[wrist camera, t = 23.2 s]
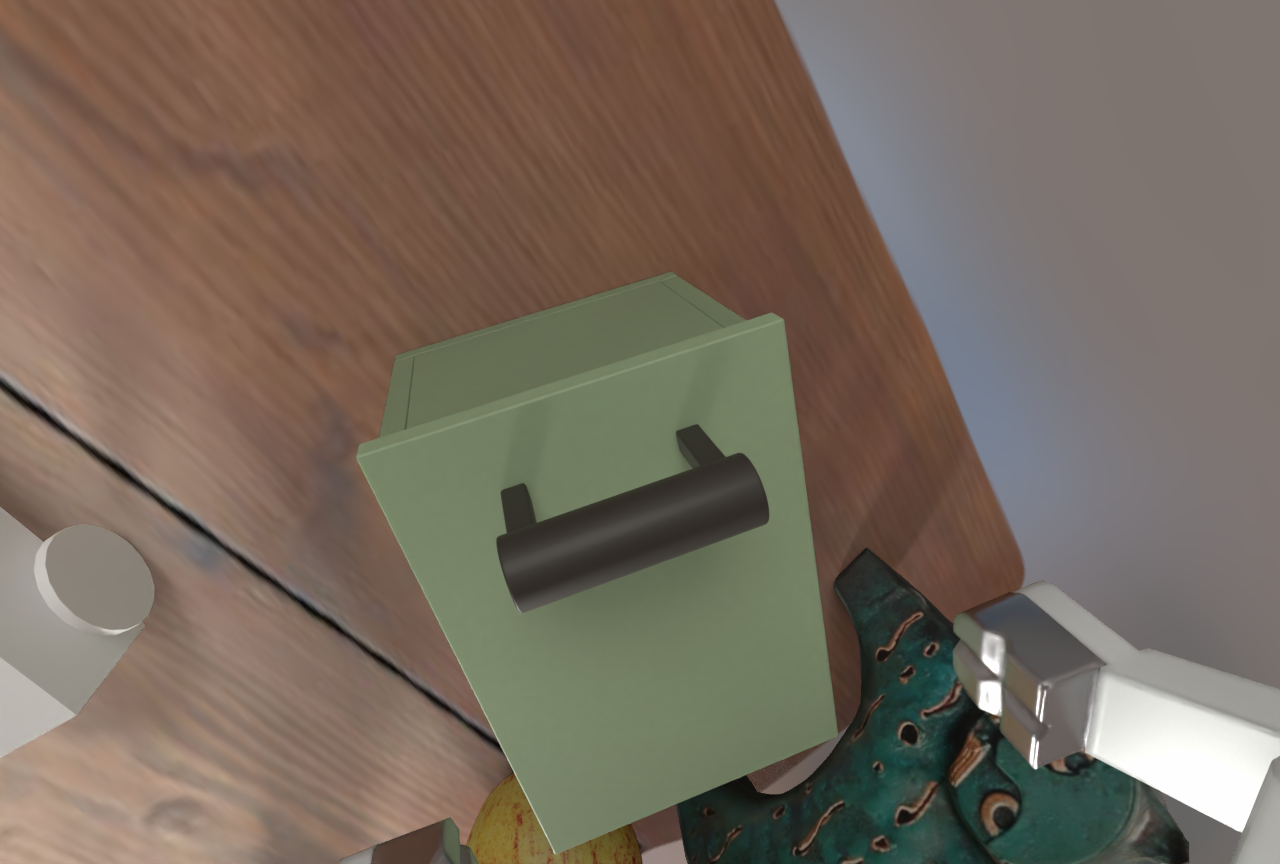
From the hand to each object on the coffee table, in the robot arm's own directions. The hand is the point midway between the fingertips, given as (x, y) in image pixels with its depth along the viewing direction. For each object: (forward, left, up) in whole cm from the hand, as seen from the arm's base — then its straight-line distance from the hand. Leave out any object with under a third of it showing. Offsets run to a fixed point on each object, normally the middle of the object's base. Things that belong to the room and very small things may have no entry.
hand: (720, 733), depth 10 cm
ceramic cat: (+23, +8, -20) cm, 31 cm away
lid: (+6, 0, -10) cm, 12 cm away
